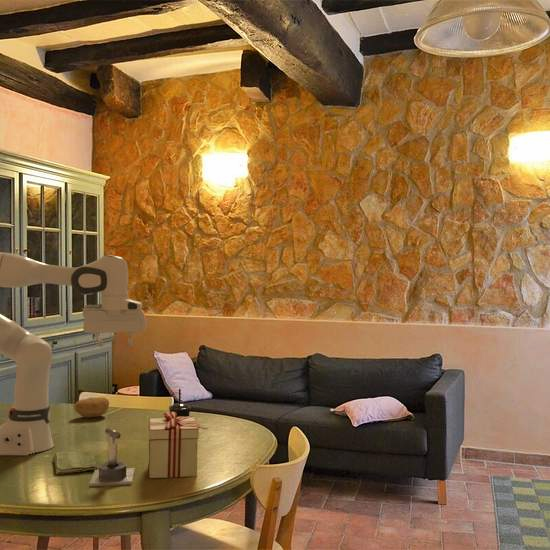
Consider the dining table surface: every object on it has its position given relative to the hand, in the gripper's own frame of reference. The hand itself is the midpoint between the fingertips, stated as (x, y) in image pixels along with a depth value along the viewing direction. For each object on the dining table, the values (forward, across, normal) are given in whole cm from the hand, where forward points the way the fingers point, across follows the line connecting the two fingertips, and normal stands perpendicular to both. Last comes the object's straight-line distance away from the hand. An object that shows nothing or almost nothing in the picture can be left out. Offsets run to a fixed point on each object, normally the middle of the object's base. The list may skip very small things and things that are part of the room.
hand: (115, 345), depth 216 cm
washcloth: (+38, -12, -6) cm, 40 cm away
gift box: (+38, +20, -15) cm, 45 cm away
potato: (+38, -15, +56) cm, 69 cm away
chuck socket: (+37, +1, -21) cm, 43 cm away
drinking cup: (+38, +21, +11) cm, 44 cm away
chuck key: (+36, +1, -21) cm, 42 cm away
